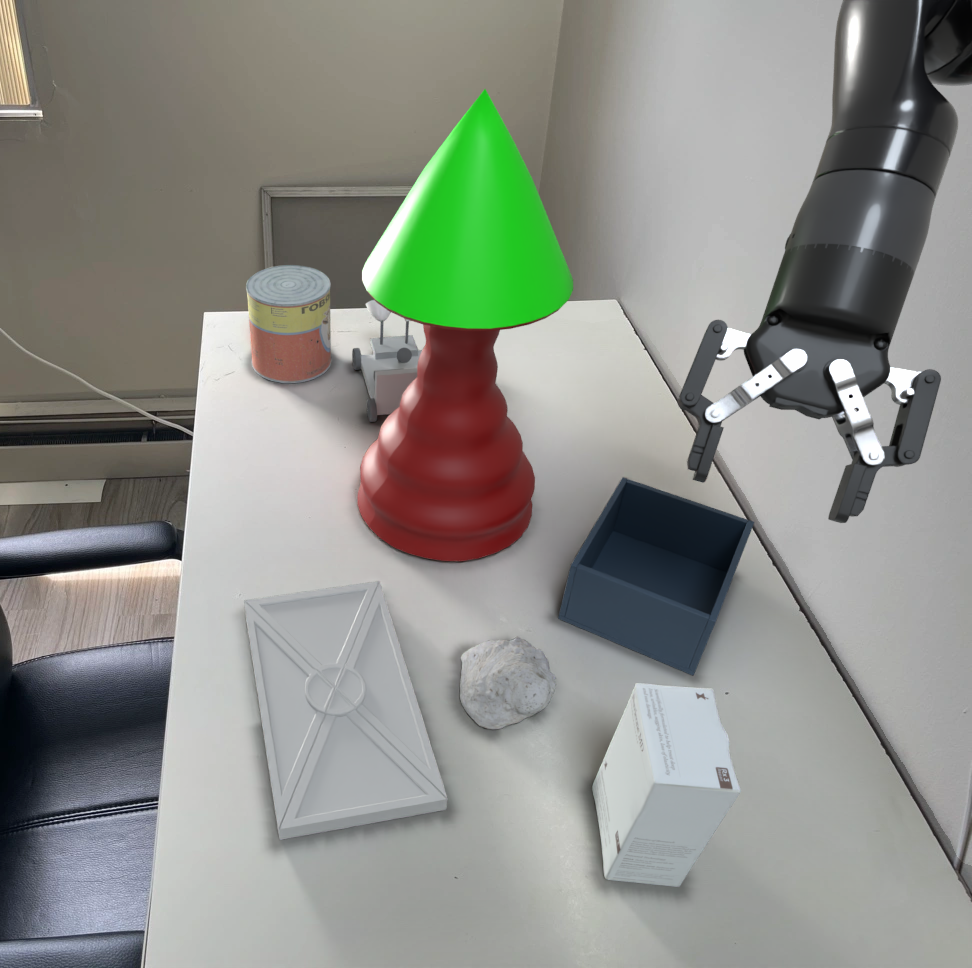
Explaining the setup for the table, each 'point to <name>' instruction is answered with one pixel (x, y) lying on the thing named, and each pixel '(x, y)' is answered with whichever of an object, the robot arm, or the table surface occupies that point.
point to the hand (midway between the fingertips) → (766, 500)
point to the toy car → (387, 366)
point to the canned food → (289, 323)
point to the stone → (505, 682)
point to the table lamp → (460, 345)
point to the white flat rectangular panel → (339, 712)
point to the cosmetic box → (663, 784)
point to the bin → (655, 573)
